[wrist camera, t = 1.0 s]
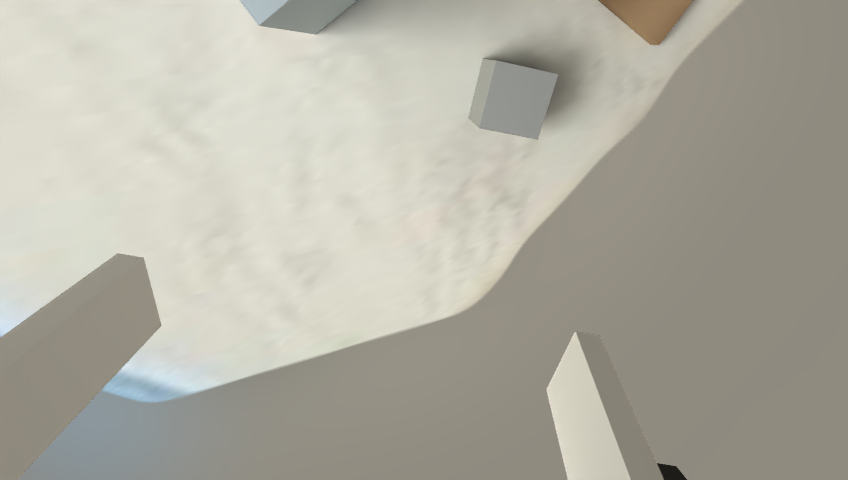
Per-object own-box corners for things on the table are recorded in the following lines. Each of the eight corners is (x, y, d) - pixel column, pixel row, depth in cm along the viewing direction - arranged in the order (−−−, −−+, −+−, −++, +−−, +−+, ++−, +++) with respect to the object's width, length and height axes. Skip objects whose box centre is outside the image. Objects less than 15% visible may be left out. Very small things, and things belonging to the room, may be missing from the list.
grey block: (468, 117, 28) (479, 127, 25) (482, 58, 27) (496, 60, 23) (519, 128, 29) (537, 139, 25) (537, 70, 27) (558, 74, 24)
